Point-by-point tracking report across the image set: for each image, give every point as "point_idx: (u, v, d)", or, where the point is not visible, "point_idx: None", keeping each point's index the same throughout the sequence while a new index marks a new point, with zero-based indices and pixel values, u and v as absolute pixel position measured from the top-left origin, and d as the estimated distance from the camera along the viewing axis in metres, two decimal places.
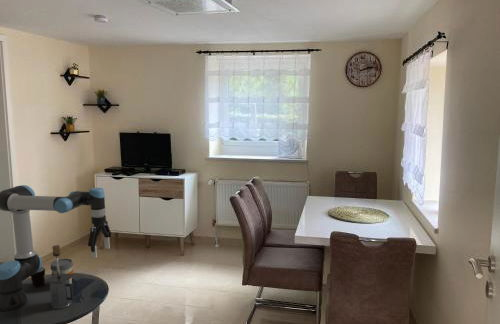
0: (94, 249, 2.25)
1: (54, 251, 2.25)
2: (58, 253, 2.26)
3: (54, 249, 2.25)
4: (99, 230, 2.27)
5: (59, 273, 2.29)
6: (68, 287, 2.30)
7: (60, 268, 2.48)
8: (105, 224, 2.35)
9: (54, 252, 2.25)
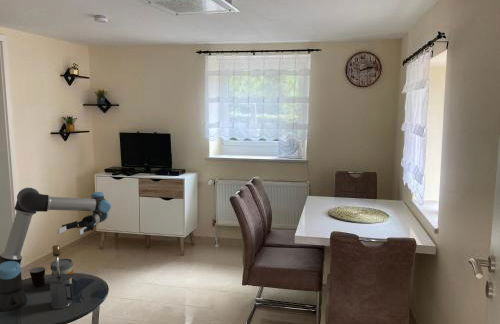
0: None
1: (54, 251, 2.25)
2: (58, 253, 2.26)
3: (54, 249, 2.25)
4: None
5: (59, 273, 2.29)
6: (68, 287, 2.30)
7: (60, 268, 2.48)
8: None
9: (54, 252, 2.25)
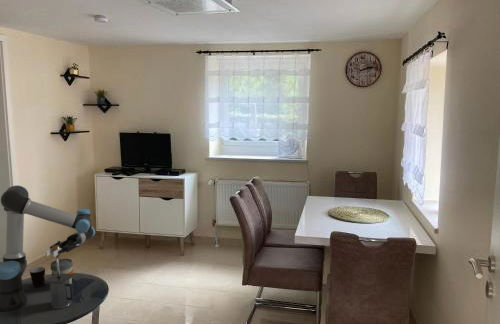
0: None
1: None
2: None
3: (54, 249, 2.25)
4: None
5: (59, 273, 2.29)
6: (68, 287, 2.30)
7: (60, 268, 2.48)
8: None
9: None
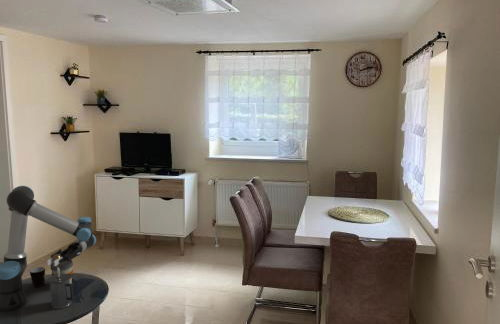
0: (60, 261, 2.26)
1: None
2: None
3: (55, 258, 2.26)
4: None
5: None
6: (68, 287, 2.30)
7: (60, 268, 2.48)
8: None
9: None
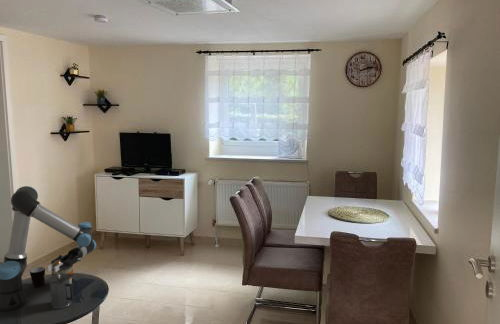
0: None
1: None
2: None
3: (55, 264, 2.26)
4: None
5: None
6: (68, 287, 2.30)
7: None
8: None
9: None
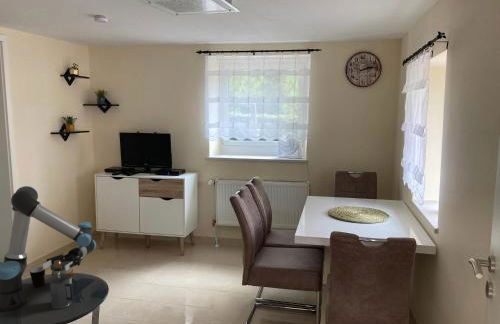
0: None
1: (56, 266, 2.26)
2: (59, 268, 2.27)
3: (55, 264, 2.26)
4: None
5: None
6: (68, 287, 2.30)
7: None
8: (62, 258, 2.41)
9: (55, 267, 2.27)
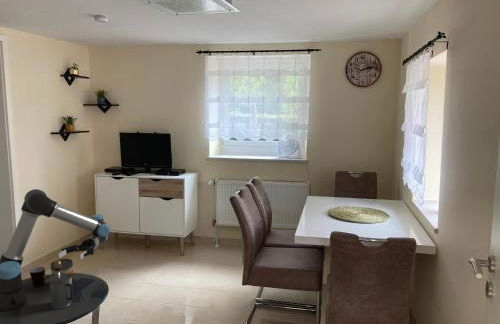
0: (85, 255, 2.41)
1: (56, 266, 2.26)
2: (59, 268, 2.27)
3: (55, 264, 2.26)
4: None
5: None
6: (68, 287, 2.30)
7: None
8: (76, 248, 2.53)
9: (55, 267, 2.27)
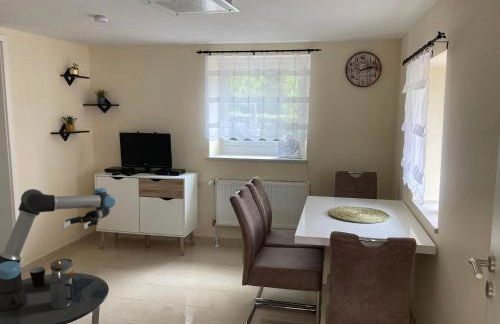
0: None
1: (56, 266, 2.26)
2: (59, 268, 2.27)
3: (55, 264, 2.26)
4: None
5: None
6: (68, 287, 2.30)
7: None
8: None
9: (55, 267, 2.27)
